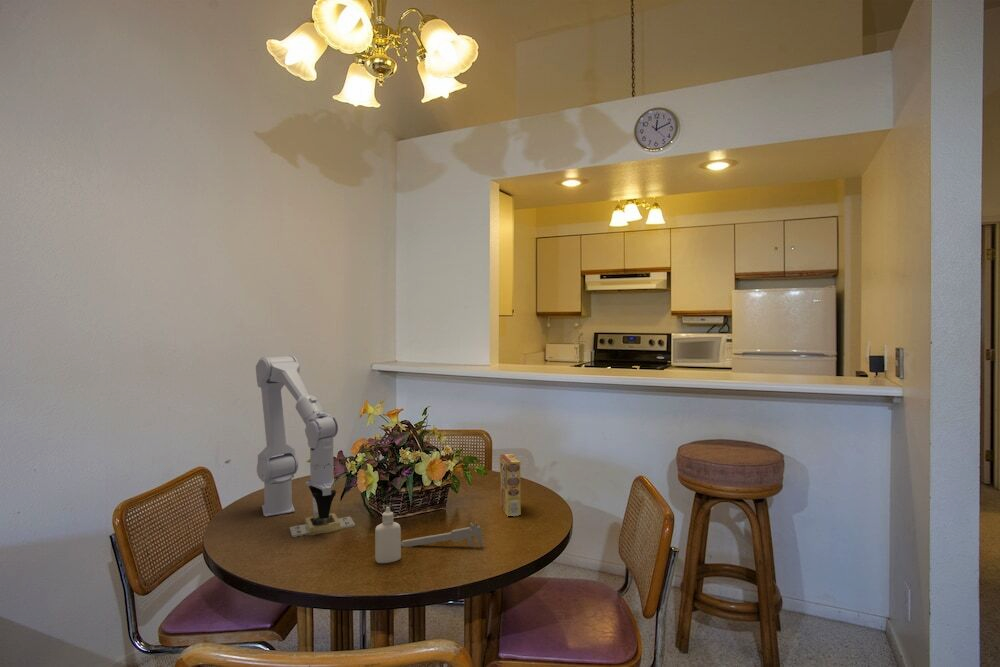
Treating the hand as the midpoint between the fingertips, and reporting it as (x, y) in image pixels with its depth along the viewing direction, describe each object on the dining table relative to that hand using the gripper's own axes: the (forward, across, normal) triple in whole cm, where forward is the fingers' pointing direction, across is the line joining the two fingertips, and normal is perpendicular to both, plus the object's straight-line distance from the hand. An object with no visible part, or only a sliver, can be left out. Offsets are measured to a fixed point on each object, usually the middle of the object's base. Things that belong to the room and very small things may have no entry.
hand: (322, 514), depth 136 cm
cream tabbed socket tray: (+3, 0, 0) cm, 3 cm away
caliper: (+4, +25, +23) cm, 34 cm away
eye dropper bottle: (+4, +26, +10) cm, 28 cm away
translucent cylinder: (+2, 0, 0) cm, 2 cm away
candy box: (+4, +13, +49) cm, 51 cm away
